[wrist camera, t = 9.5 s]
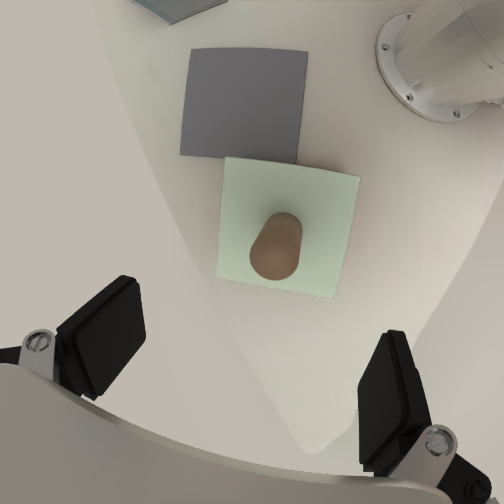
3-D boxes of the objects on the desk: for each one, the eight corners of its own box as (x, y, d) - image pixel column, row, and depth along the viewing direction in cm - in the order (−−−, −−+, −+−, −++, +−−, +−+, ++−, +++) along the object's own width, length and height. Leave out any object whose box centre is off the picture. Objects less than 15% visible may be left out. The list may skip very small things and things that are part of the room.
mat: (307, 53, 22) (307, 51, 22) (294, 166, 27) (294, 166, 26) (192, 50, 24) (191, 49, 24) (181, 154, 29) (179, 154, 28)
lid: (358, 176, 22) (377, 188, 15) (333, 293, 26) (337, 339, 19) (228, 156, 23) (197, 161, 17) (219, 272, 27) (192, 311, 21)
